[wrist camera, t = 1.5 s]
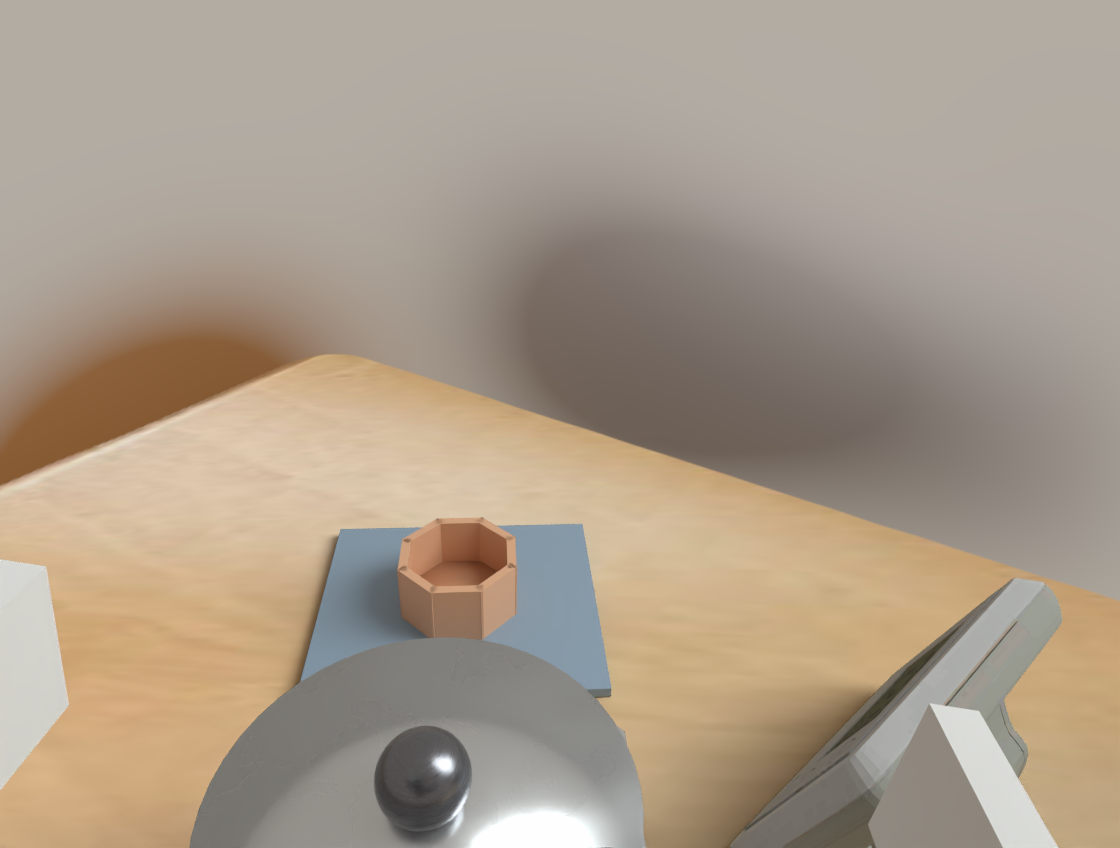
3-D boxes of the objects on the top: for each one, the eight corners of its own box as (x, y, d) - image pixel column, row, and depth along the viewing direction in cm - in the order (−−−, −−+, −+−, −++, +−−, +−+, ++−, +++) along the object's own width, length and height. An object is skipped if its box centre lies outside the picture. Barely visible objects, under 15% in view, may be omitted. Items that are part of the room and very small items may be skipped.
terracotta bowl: (514, 561, 48) (514, 516, 47) (518, 638, 43) (518, 590, 41) (408, 564, 48) (404, 519, 46) (397, 643, 42) (393, 594, 40)
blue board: (581, 531, 52) (582, 524, 52) (610, 696, 40) (611, 688, 40) (341, 536, 51) (340, 529, 51) (296, 709, 39) (294, 701, 39)
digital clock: (907, 680, 42) (966, 524, 37) (1073, 816, 35) (1173, 649, 30) (672, 816, 35) (703, 645, 29) (825, 1019, 28) (900, 846, 23)
